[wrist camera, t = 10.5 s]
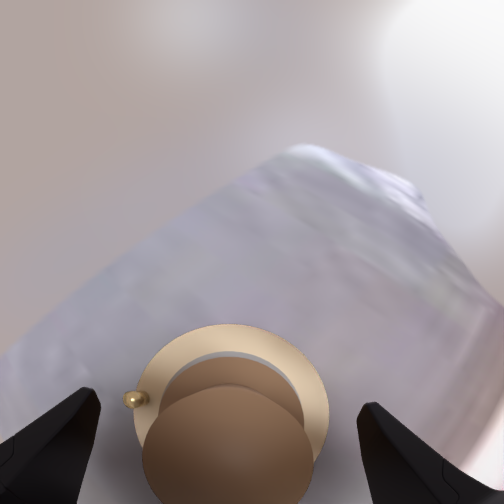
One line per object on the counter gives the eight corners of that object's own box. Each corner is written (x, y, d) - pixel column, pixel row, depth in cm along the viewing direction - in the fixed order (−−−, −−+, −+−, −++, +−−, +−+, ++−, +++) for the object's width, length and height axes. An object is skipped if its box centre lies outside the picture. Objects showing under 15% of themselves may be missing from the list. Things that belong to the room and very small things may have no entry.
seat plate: (306, 502, 13) (317, 520, 10) (128, 471, 13) (111, 484, 10) (335, 341, 18) (352, 333, 15) (158, 310, 18) (146, 297, 15)
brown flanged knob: (291, 482, 13) (338, 554, 5) (159, 468, 13) (100, 529, 4) (303, 363, 16) (369, 347, 8) (172, 349, 16) (113, 318, 8)
